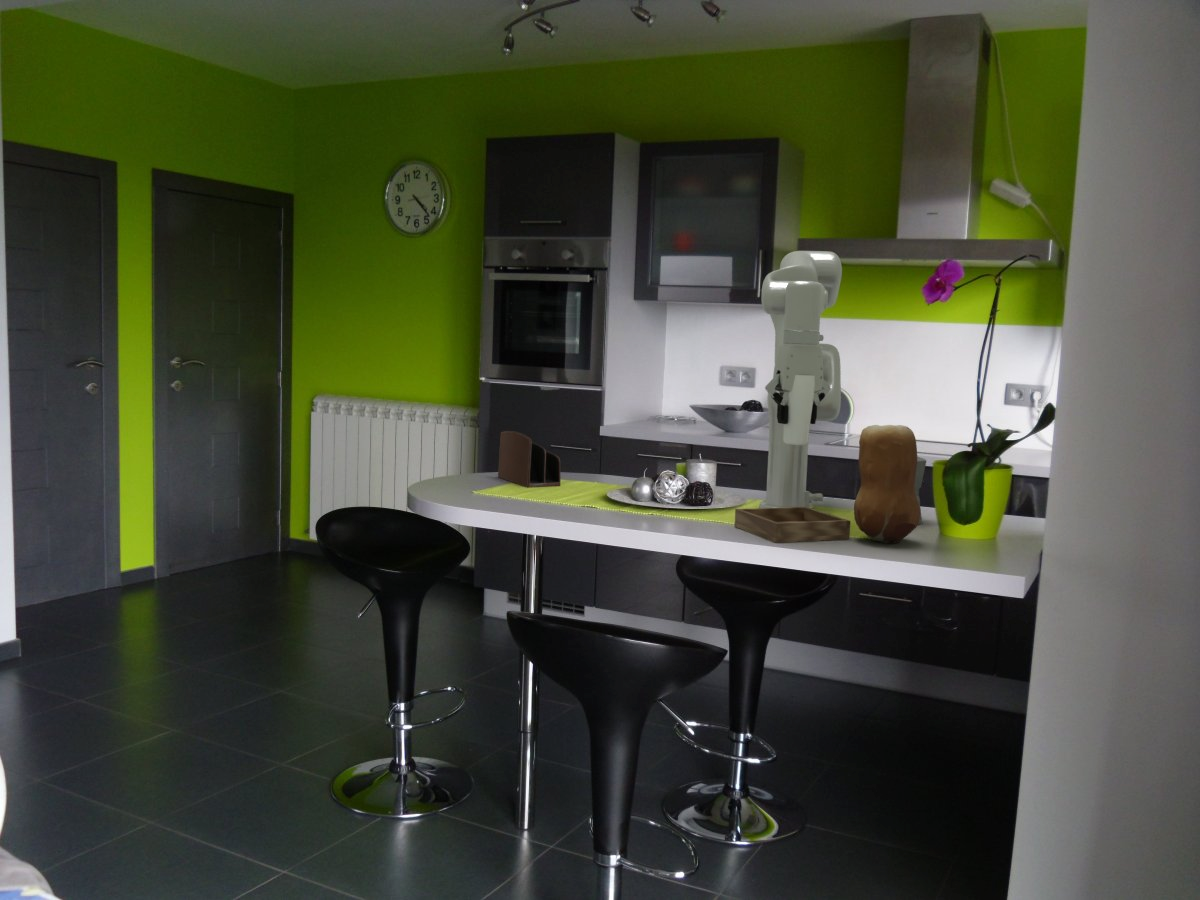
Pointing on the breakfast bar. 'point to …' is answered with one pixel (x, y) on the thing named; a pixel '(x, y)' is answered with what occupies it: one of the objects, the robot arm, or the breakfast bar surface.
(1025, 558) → the breakfast bar surface
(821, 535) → the walnut tray
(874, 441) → the butternut squash
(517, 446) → the letter holder
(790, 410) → the drinking glass
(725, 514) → the breakfast bar surface
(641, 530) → the breakfast bar surface
